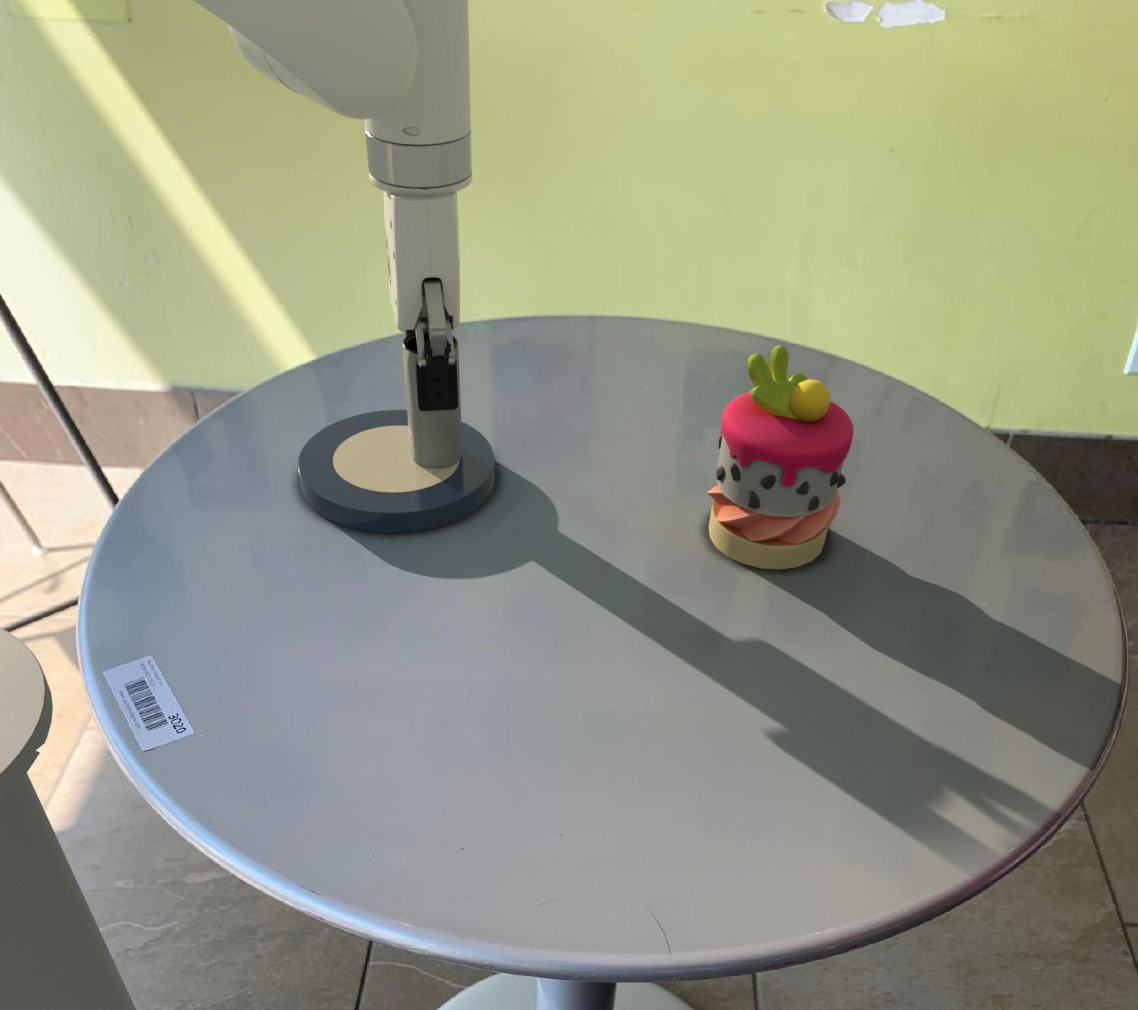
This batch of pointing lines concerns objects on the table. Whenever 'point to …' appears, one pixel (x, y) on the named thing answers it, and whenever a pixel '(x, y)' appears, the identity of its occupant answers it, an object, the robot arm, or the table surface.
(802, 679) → the table surface
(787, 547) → the cake
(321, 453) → the plate
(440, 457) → the planter
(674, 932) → the table surface
